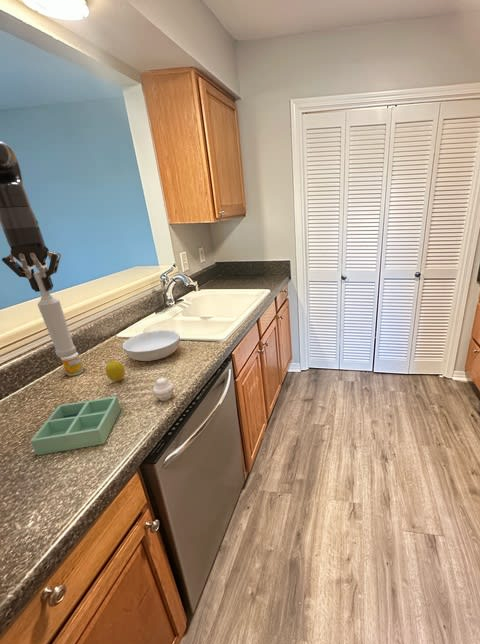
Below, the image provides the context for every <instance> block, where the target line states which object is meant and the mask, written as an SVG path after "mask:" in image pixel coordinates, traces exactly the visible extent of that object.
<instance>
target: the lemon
mask: <svg viewBox="0 0 480 644" xmlns="http://www.w3.org/2000/svg"><path fill="white" fill-rule="evenodd" d="M125 374H126V370H125V367H124V365H123V363H121V361H119V360H110V361H109V362H108V363H107V364H106V366H105V375H106V377H107V378H108V379H109V380H110V381H112V382H113V381H114V382H120V381H121V380H122V379H124V377H125Z"/></svg>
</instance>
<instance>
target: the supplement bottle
mask: <svg viewBox="0 0 480 644" xmlns="http://www.w3.org/2000/svg"><path fill="white" fill-rule="evenodd" d="M60 360H61V363H62V365H63V369H64V371H65V373H66V375H67V376H68V377H69V376H70V377H71V376H72V377H73V376H77V375H80V374H81V373H83V372H84V371H85V368H84V366H83V363H82V361H81V357H80V355H79V352H77V351H76V353H75V354H74V355H72V356H69V357H64V358H60Z"/></svg>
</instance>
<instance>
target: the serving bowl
mask: <svg viewBox="0 0 480 644" xmlns="http://www.w3.org/2000/svg"><path fill="white" fill-rule="evenodd" d="M180 343H181V335H180V333H178V332H177V331H174V330H170V329H158V330H157V329H156V330H152V331H146V332H142V333H139V334H136V335H133V336H131V337H130V338H127V339H126V340H125V341H124V342H123V343H122V350H123V352H124V353H125V354H126V356H127V357H129V358H131V359H132V360H135V361H140V362H152V361H157V360H162V359H163V358H167V357H168V356H170V355H172V354H173V353H174V352H175V351H176V350H177V349H178V348H179V346H180Z"/></svg>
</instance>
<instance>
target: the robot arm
mask: <svg viewBox="0 0 480 644" xmlns="http://www.w3.org/2000/svg"><path fill="white" fill-rule="evenodd" d="M0 226H1V228H2V231H3V234H4V237H5V239H6V242H7V244H8V246H9V248H10V252H9V253H10V254H8V255H7V256H5V257H2V258H1V262H3V263H4V264H5V265H6V266H7V267H8V268H9V269H10V270H11V271H12V272H14V273H15V275H16V276H18V277H19V278H25V279H27V280H28V282H29V285H30V288H31V290H33V291H34V292H35V293H40V290H39V288H38V285H37V282H36V280H35V277H34V275H33V273H36V270H38V272H40V274H41V276H42V277H43V278H42V281H43V284H44V287H45V289H46V291H49V292H51V291H52V290H53V288H54V283H53V281H52V278H51V276H52V275H54V274H56V273H57V272H58V268H59V265H60V261H61V257H62V255H61V253H59V252H53V251H51V250H49V248H48V247H47V246H46V244H45V240H44V237H43V233H42V231H41V228H40V225H39V222H38V220H37V217H36V215H35V212H34V211H33V207H32V206H31V202H30V200H29V197H28V194H27V191H26V190H25V187H24V182H23V177H22V170H21V167H20V163H19V159H18V158H17V154H16V153H15V152H14V150H13V149H12V148H11V147H10V145H8V144H7V143H5V142H4V141H2V140H0ZM47 258H48V260H50V261H49V265H48V263H47ZM18 262H20V264H21V265H20V264H19V263H18ZM35 269H36V270H35Z"/></svg>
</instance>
